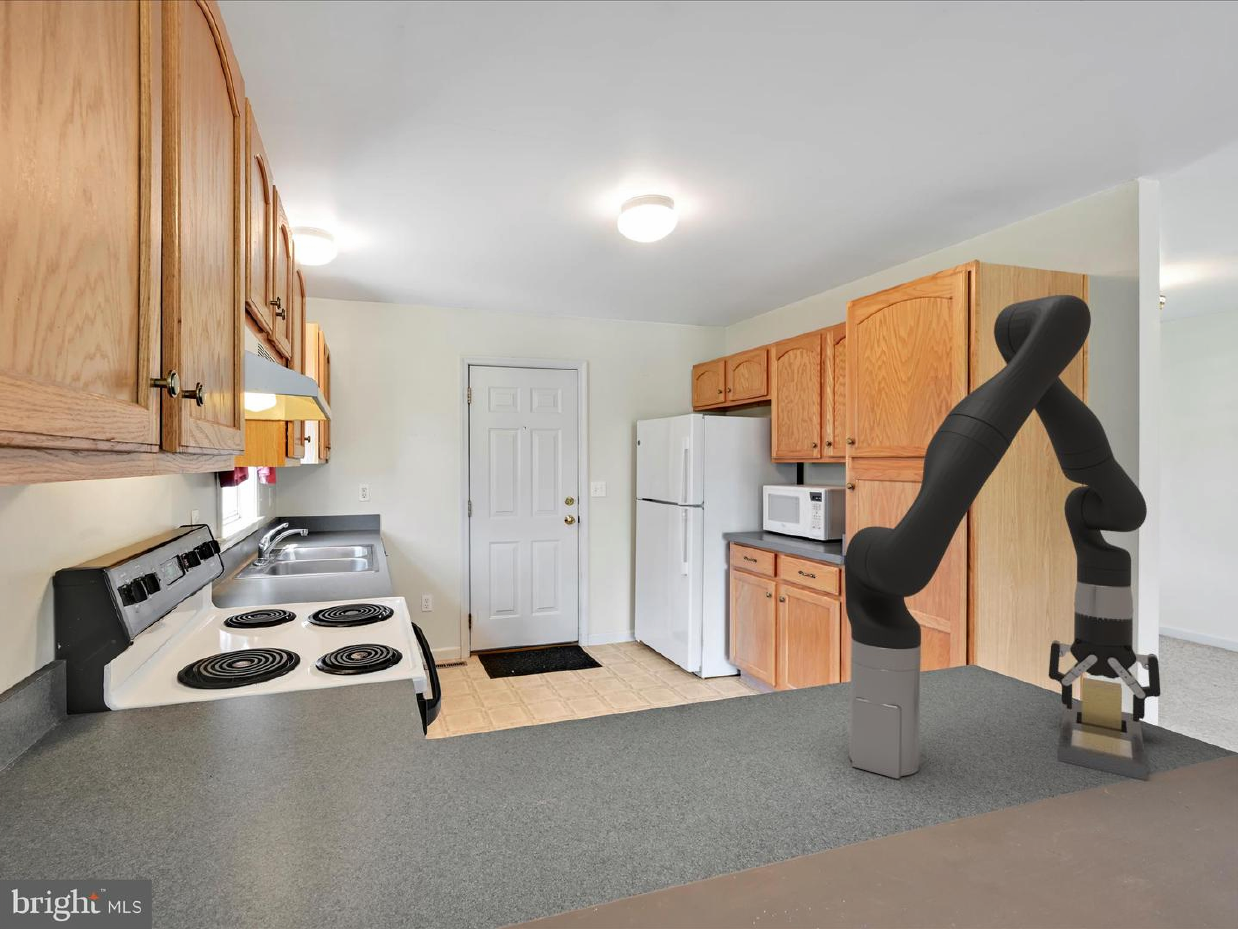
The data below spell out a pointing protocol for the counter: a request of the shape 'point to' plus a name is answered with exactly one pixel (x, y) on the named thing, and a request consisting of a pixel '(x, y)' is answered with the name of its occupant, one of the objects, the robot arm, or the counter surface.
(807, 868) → the counter surface
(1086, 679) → the yellow wooden block
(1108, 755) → the grey slotted holder
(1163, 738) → the counter surface
